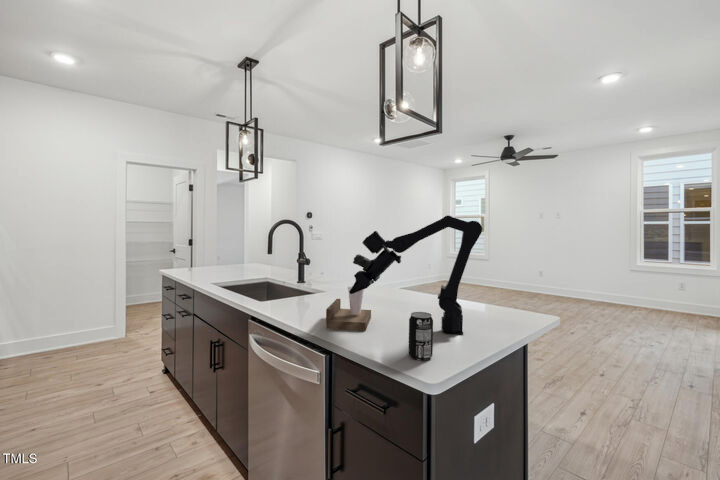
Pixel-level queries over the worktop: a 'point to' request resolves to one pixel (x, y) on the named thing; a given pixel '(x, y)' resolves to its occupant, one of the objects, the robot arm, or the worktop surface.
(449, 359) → the worktop surface
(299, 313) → the worktop surface
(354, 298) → the smoothie
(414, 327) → the beverage can
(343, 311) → the wooden l-shaped block
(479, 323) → the worktop surface
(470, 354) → the worktop surface
